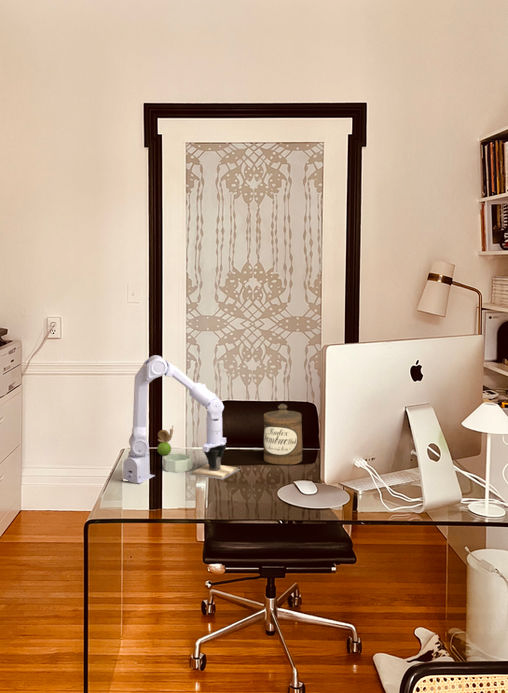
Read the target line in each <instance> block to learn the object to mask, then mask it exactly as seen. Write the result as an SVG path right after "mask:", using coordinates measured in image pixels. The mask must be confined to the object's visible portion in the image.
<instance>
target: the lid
mask: <svg viewBox="0 0 508 693" xmlns="http://www.w3.org/2000/svg"><path fill="white" fill-rule="evenodd" d="M237 469H238V466H230V465H224V464H223V465H222V464H220V457H217V460H216V467H215V468H210V467H209V463H207V464H205V465H203V466H201V467H199V468H197V469H195V470H193V471H192V472H191V473H192V474H194V475H202V476H209V477H216V478H223V477H225V476H227V475H228V474H230V473H232V472H234V471H235V470H237ZM194 475H193V476H194Z"/></svg>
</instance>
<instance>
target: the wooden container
mask: <svg viewBox="0 0 508 693" xmlns="http://www.w3.org/2000/svg"><path fill="white" fill-rule="evenodd" d="M277 408H278V410H272V411H268V412H265V413H264V414H263V424H264V425H263V461H265V462H267V463H269V464H275V465H289V466H291V465H297V464H300V463H301V462H302V461H303V431H302V430H303V427H302V422H303V420H302V416H303V415H302V413H301V412H298V411H295V410H287V409H288V405H287V404H285V403H281V404H279V405H278V406H277Z"/></svg>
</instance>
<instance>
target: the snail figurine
mask: <svg viewBox="0 0 508 693" xmlns="http://www.w3.org/2000/svg"><path fill="white" fill-rule="evenodd" d="M173 433H174V425H172V426H171V428H170V429H169V431H168V430H165V429H161V430H159V431H158V432H157V438H158V439H157V441H158V442H159V444H158V445H157V452H158V454H159V455H160V456H163V457H165V456H167V455H169V454H171V452H172V446H171V444H170V443H169V442H170V441H171V440H172V437H173Z"/></svg>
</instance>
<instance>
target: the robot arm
mask: <svg viewBox="0 0 508 693" xmlns="http://www.w3.org/2000/svg"><path fill="white" fill-rule="evenodd" d="M162 376H165V377H167V378H169V377H171V378H173V379H175V380H176V381H177V382H178V383H180V384H181V385H182V386H184V387H185V388H186V389H187V390H188V391H189V393H188V394H189V396H190V397H191V398H193V399H194V400H195V401H196V402H197V403H199V404H200V405H201V406H202V407H205V409H206V442H205V443H204V445H202V452H203V453H204V455H205V457H206V460H207V464H209V467H210V468H215V467H216V460H217V457H220V465H222V464H221V463H222V459H223V456H224V452H225V450H226V449H227V445H226V443H227V437H223V411H224V409H225V405H224V404H223V401H222V399H220V398H219V397H218V395H217V394H216V393H215V392H211V390H210V389H208V388H207V385H206V384H205V383H202V382H194V381H193V380H192V379H190V378H189V376H187V375H186V374H185V373H183V371H181V370H180V369H179V368H178V367H177V366H176V365H174V364H173V363H171V362H170V361H168V360H167V359H165V360H164V358H163V357H162V356H161V355H156V354H155V355H152V356H150V357H148V358H147V359H145V361H144V362H143V364H142V366H141V367H140V368H139V370H138V371H137V373H136V374H135V375H134V384H133V387H134V388H133V389H134V390H133V412H132V413H133V415H132V430H131V435H130V437H129V439H128V444H129V446H130V450H129V452H128V457H127V458H126V459H125V460H124V462H123V464H122V466H123V467H122V468H123V471H122V472H123V479H126V480H128V481H130V482H129V483H133V484H142V483H144V482H146V481H147V480H149V479H151V478H153V477H156V475H155V474H151V470H150V468H151V467H150V465H151V464H150V451H149V450H150V445H149V442H148V440H147V435H148V434H147V419H148V418H147V415H148V412H147V411H148V389H149V388H148V387H149V386H148V385H149V384H150V383H151V382H152V381H153V380H155V379H156V378H159V377H162Z"/></svg>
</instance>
